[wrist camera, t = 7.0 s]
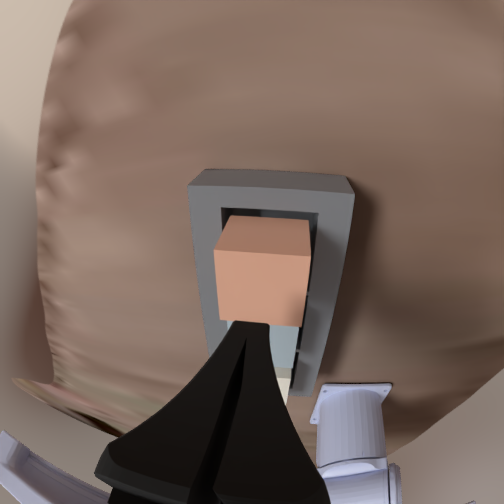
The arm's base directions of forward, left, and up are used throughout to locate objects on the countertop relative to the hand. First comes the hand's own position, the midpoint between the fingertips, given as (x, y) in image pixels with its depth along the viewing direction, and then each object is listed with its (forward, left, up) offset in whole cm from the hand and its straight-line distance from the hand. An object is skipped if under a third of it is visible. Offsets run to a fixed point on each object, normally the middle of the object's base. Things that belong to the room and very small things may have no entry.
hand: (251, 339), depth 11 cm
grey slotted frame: (-5, 0, -10) cm, 11 cm away
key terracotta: (0, 0, -7) cm, 7 cm away
